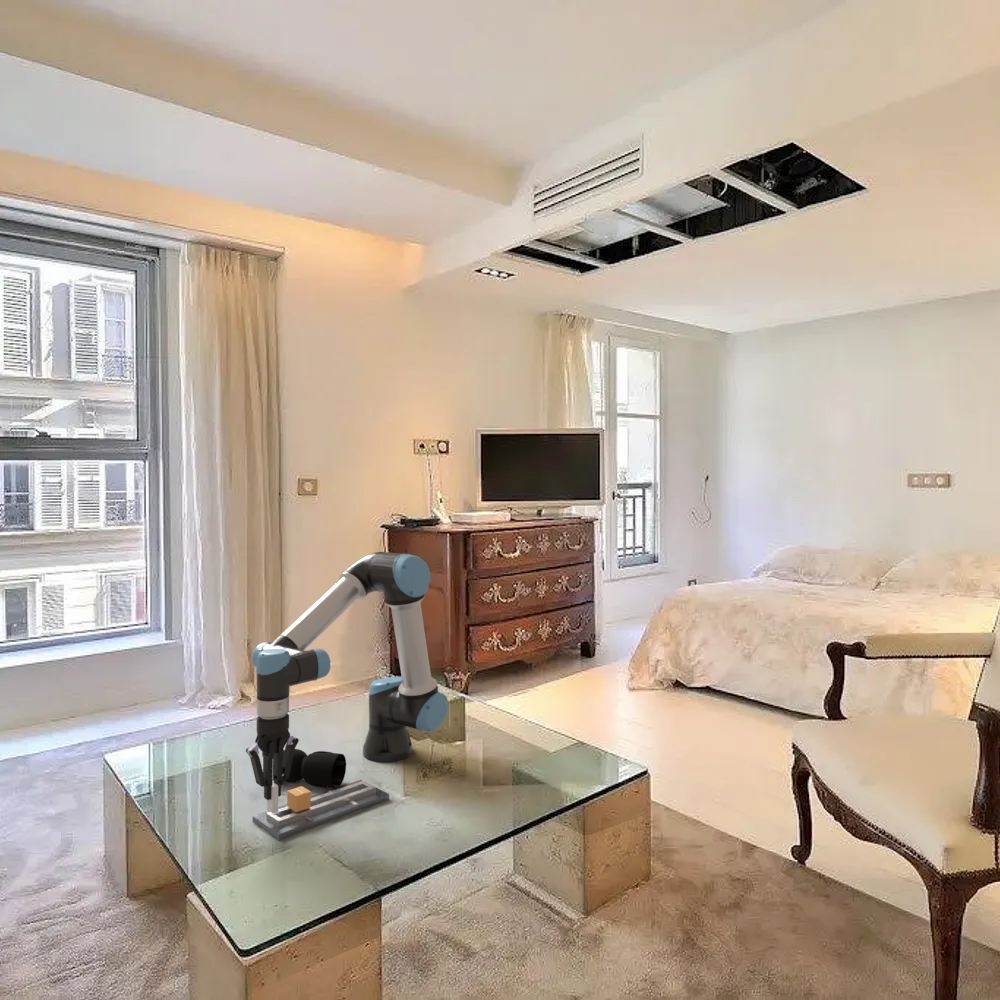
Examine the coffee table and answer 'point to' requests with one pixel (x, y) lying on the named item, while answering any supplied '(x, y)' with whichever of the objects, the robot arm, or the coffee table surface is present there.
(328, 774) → the black hourglass-shaped sleeve
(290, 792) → the fader knob
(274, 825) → the fader panel
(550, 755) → the coffee table surface
